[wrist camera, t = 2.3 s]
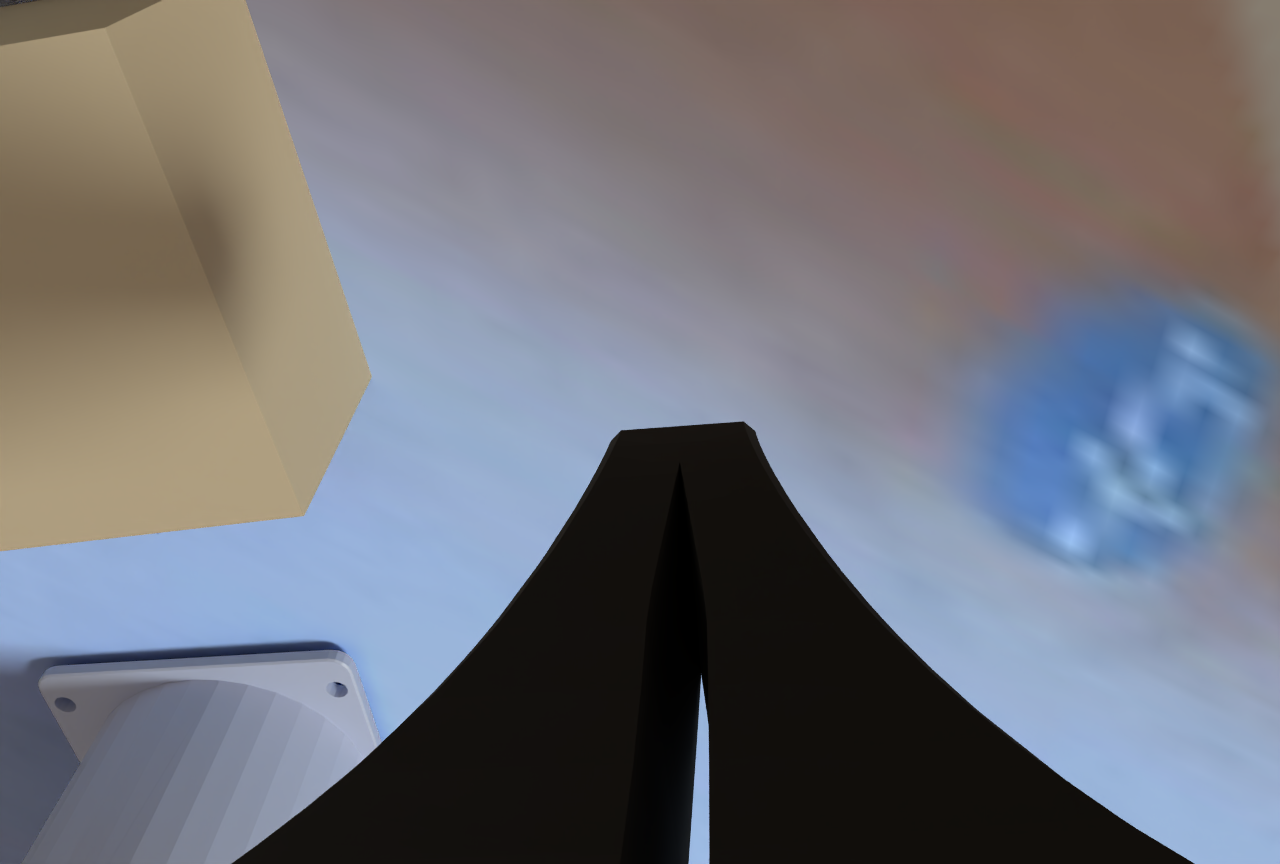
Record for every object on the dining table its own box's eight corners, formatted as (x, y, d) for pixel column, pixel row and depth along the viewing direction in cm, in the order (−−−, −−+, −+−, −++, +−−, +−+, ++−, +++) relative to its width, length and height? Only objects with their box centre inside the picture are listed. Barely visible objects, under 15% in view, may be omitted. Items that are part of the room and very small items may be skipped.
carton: (374, 373, 22) (305, 517, 18) (21, 420, 23) (-124, 567, 19) (237, -39, 18) (103, 23, 14) (-190, 36, 19) (-438, 116, 15)
